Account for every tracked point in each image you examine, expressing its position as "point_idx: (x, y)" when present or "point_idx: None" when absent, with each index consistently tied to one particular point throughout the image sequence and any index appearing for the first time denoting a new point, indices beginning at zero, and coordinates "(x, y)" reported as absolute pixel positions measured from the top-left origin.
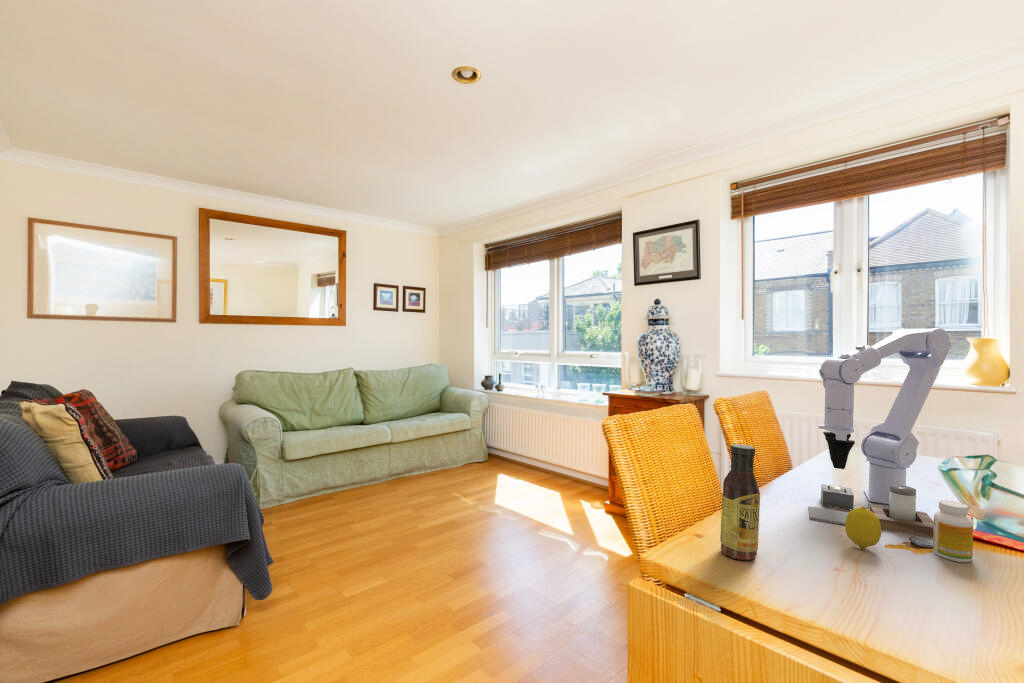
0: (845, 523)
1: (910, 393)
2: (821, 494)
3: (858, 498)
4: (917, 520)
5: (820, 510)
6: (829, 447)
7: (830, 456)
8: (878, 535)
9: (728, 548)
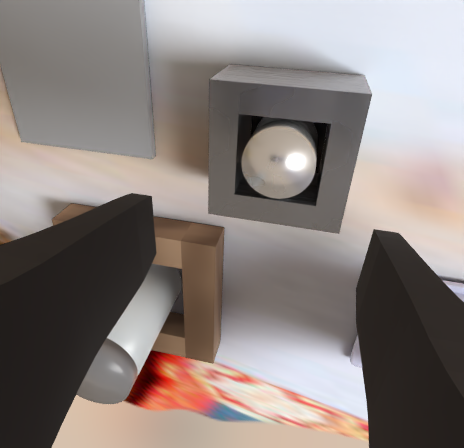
0: None
1: None
2: (342, 79)
3: (426, 245)
4: (180, 322)
5: (104, 38)
6: (412, 313)
7: (385, 249)
8: None
9: None
